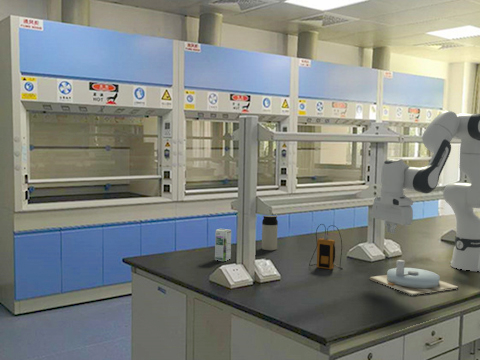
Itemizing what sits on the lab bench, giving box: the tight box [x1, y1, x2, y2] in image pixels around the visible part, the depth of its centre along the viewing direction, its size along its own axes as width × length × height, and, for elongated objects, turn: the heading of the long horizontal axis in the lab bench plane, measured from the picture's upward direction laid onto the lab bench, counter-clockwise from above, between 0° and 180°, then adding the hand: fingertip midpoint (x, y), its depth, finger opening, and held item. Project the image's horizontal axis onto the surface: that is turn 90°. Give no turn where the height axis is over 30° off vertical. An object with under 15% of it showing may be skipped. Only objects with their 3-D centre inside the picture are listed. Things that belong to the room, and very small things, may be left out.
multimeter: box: [308, 223, 343, 270], centre depth 229 cm, size 15×10×20 cm
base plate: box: [369, 274, 459, 295], centre depth 204 cm, size 24×24×2 cm
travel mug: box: [261, 215, 279, 252], centre depth 263 cm, size 8×8×18 cm
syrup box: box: [214, 228, 232, 262], centre depth 238 cm, size 6×6×14 cm
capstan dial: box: [386, 259, 441, 288], centre depth 204 cm, size 20×20×9 cm
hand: (390, 232), depth 206 cm, fingers closed
